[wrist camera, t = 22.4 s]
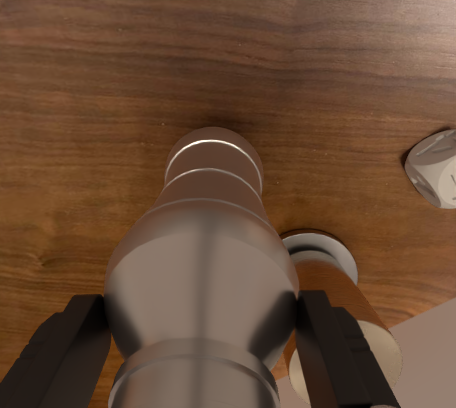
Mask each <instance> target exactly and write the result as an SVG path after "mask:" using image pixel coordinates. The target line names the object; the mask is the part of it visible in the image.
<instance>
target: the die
mask: <svg viewBox="0 0 456 408" xmlns="http://www.w3.org/2000/svg"><path fill="white" fill-rule="evenodd" d="M405 171H406V173H407V175H408V177H409V179H410V180H411V182H412V183H413V185H414V186H415V187H416V189H417V190H418V191H419V192H420V193H421V194H422V196H423V197H424V198H425V199H426V200H428V201H429V202H430V203H431V204H432V205H434V206H436V207H438V208H448V209H452V208H456V129H454V130H447V131H443V132H440V133H437V134H434V135H432V136H430V137H428V138H426V139H424V140H423V141H421V142H420V143H418V144H417V145H416V146H415V147H414V148H413V149H412V150H411V151H410V153H409V155H408V157H407V159H406V162H405Z"/></svg>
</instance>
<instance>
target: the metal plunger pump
mask: <svg viewBox="0 0 456 408" xmlns="http://www.w3.org/2000/svg"><path fill="white" fill-rule="evenodd" d="M279 237H280V239H281V240H282V242H283V244H284V245H285V247H286V249H287V251H288V253H289V255H290V257H291V260H292V262H293V264H294V266H295V269H296V273H297V276H298V280H299V290H324V291H325V293H326V295H327V297H328V299H329V302H330V304H331V306H332V307H344V308H345V309H346V310H347V311H348V312H349V313H350V314H351V315H352V316H353V317H354V318H355V319H356V320H357V322H358V324H359V326H360V328H361V330H362V332H363V334H364V338H366V340H367V342H368V344H369V346H370V350H371V351H372V352H373V354H374V356H375V358H376V360H377V362H378V364H379V366H380V368H381V370H382V372H383V374H384V376H385V378H386V380H387V382H388V384H389V386H390V388H391V389H392V388H393V387H394V385H395V384H396V382H397V380H398V379H399V376H400V373H401V370H402V362H403V360H402V353H401V349H400V347H399V344H398V342H397V341H396V339H395V338H394V337H393V335H392V334H391V332H390V331H389V330H388V328H387V327H386V326H385V324H384V323H383V322H382V320H381V319H380V317H379V316H378V315H377V313H376V312H375V311H374V309H373V308H372V307H371V305H370V304H369V303H368V301H367V300H366V298H365V297H364V296H363V294H362V293H361V292H360V290H359V289H358V288H357V279H358V273H357V267H356V263H355V260H354V258H353V256H352V255H351V253H350V252H349V250H348V249H347V248H346V247H345V246H344V245H343V244H342V242H340V241H339V240H338V239H337V238H335V237H334V236H332V235H330V234H328V233H326V232H322V231H319V230H313V229H301V230H295V231H291V232H288V233H285V234H283V235H281V236H279ZM283 354H284V358H285V362H286V366H287V370H288V375H289V379H290V382H291V385H292V387H293V389H294V391H295V392H296V393H297V395H298V396H299V397H300V398H301V399H302V400H303V401H304V402H306V403H307V404H309V405H311V404H310V400H309V396H308V392H307V388H306V384H305V380H304V376H303V372H302V368H301V364H300V360H299V356H298V352H297V348H296V341H295V328H294V331H293V333H292V335H291V337H290V338H289V340H288V342H287V344H286V346H285V348H284V350H283Z"/></svg>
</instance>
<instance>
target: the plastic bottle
mask: <svg viewBox="0 0 456 408" xmlns="http://www.w3.org/2000/svg"><path fill="white" fill-rule="evenodd" d="M262 188H263V167H262V163H261V159H260V157H259V155H258V154H257V152H256V150H255V149H254V148H253V146H252V145H251V144H250V143H249V142H248V141H247V140H246V139H244V138H243V137H242V136H240V135H239V134H237V133H235V132H233V131H232V130H228V129H225V128H221V127H204V128H201V129H197V130H194V131H192V132H190V133H188V134H186V135H185V136H183V137H182V138H181V139H180V140H178V141H177V143H176V144H175V145H174V146H173V148H172V149H171V151H170V153H169V155H168V158H167V162H166V167H165V185H164V189H163V191H162V193H161V194H160V195H159V197H158V198H157V200H156V202H155V203H154V204H153V205H152V206H151V207H150V208H149V209H148V211H147V212H146V213H145V214H144V215H143V216H142V217H141V218H140V219H139V220H138V221H137V222H136V223H135V224H134V225H133V226H132V227H131V228H130V230H129V231H128V232H127V233H126V235H125V236H124V237H123V238H122V240H121V241H120V243H119V244H118V245H117V247H116V248H115V249H114V251H113V253H112V256H111V258H110V260H109V262H108V264H107V270H106V276H105V284H104V297H103V301H104V311H105V316H106V319H107V322H108V325H109V327H110V330H111V333H112V335H113V338H114V341H115V343H116V346H117V349H118V351H119V352H120V354H121V356H122V358H123V359H124V361H125V362H124V363H123V364H122V365H121V367H120V369H119V370H118V372H117V374H116V376H115V380H114V383H113V386H112V389H111V393H110V397H109V401H108V406H109V408H280V400H279V395H278V388H277V385H276V382H275V379H274V377H273V375H272V373H271V372H270V371H271V370H272V368H273V367H274V366H275V364H276V363H277V362H278V360H279V358H280V356H281V354H282V352H283V350H284V348H285V346H286V344H287V342H288V340H289V338H290V337H291V335H292V333H293V331H294V328H295V324H296V318H297V297H298V292H299V280H298V276H297V273H296V269H295V266H294V264H293V262H292V260H291V257H290V255H289V253H288V251H287V249H286V247H285V245H284V244H283V242H282V240H281V239H280V237H279V236H278V234H277V232H276V231H275V229H274V227H273V226H272V224H271V222H270V221H269V219H268V218H267V215H266V212H265V210H264V207H263V205H262V202H261V194H262Z"/></svg>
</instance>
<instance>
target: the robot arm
mask: <svg viewBox="0 0 456 408" xmlns="http://www.w3.org/2000/svg"><path fill="white" fill-rule="evenodd" d="M295 341H296V348H297V352H298V356H299V360H300V364H301V368H302V372H303V376H304V380H305V384H306V388H307V392H308V396H309V400H310V404H311V408H401V407H400V405H399V403H398V402H397V400H396V398H395V396H394V394H393V392H392V390H391V388H390V386H389V384H388V382H387V380H386V378H385V376H384V374H383V372H382V370H381V368H380V366H379V364H378V362H377V360H376V358H375V356H374V354H373V352H372V351H371V350H370V346H369V344H368V342H367V340H366V338H364V334H363V332H362V330H361V328H360V326H359V324H358V322H357V320H356V319H355V318H354V317H353V316H352V315H351V314H350V313H349V312H348V311H347V310H346V309H345V308H344V307H332V306H331V304H330V302H329V299H328V297H327V295H326V293H325V291H324V290H299V292H298V297H297V318H296V324H295ZM110 345H111V330H110V327H109V325H108V322H107V319H106V316H105V311H104V301H103V296H102V295H101V294H85V295H74V296H73V297H72V298H71V300H70V302H69V303H68V305H67V306H66V308H65V310H64V311H63V313H54V314H53V315H52V316H51V317H50V318H48V319H47V320H46V321H45V322H44V323H42V324H41V325H40V326H39V327H38V329H37V330H36V332H35V333H34V335H33V336H32V338H31V339H30V341H29V344H28V345H26V347H25V348H24V349H23V351H22V352H21V354H20V358H17V360H16V361H15V363H14V364H13V366H12V367H11V369H10V370H9V371H8V373H7V374H6V376H5V377H4V379H3V380H2V382H1V383H0V408H87V407H88V404H89V402H90V399H91V397H92V394H93V391H94V389H95V386H96V384H97V381H98V379H99V376H100V373H101V371H102V368H103V366H104V363H105V360H106V358H107V355H108V353H109V349H110Z"/></svg>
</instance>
